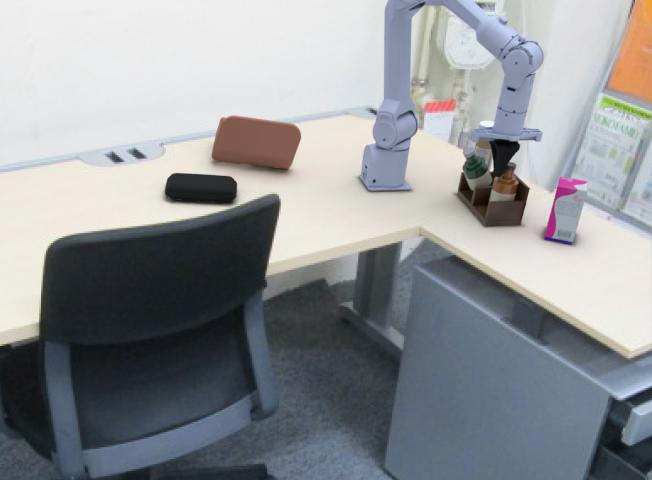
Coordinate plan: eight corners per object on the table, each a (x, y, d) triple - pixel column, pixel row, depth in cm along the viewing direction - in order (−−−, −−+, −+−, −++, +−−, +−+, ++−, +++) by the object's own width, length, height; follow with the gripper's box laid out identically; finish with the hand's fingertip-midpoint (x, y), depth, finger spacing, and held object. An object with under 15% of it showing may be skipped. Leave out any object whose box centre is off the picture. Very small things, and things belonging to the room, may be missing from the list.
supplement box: (574, 233, 183) (589, 180, 176) (572, 245, 178) (587, 191, 172) (546, 227, 184) (560, 175, 177) (543, 239, 180) (557, 185, 173)
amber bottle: (492, 217, 183) (503, 168, 177) (482, 207, 187) (493, 159, 181) (514, 217, 185) (527, 168, 178) (505, 206, 188) (516, 159, 182)
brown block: (281, 191, 199) (304, 129, 190) (207, 167, 196) (227, 103, 187) (283, 164, 212) (304, 104, 203) (213, 140, 209) (232, 79, 200)
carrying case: (237, 185, 191) (168, 181, 190) (237, 171, 189) (168, 167, 188) (236, 206, 182) (164, 202, 181) (236, 192, 180) (163, 188, 179)
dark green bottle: (477, 201, 190) (462, 161, 183) (468, 191, 194) (453, 152, 187) (499, 189, 189) (484, 148, 183) (489, 179, 193) (474, 139, 186)
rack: (485, 226, 183) (493, 188, 178) (456, 194, 195) (464, 158, 190) (520, 225, 184) (530, 188, 179) (490, 193, 197) (498, 157, 192)
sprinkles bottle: (491, 183, 202) (504, 124, 194) (479, 187, 199) (492, 128, 191) (475, 176, 204) (487, 118, 196) (463, 180, 202) (475, 122, 194)
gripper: (485, 115, 168) (471, 183, 176) (555, 115, 171) (538, 182, 179) (471, 103, 173) (458, 169, 181) (539, 103, 176) (523, 168, 184)
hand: (497, 175), depth 181 cm, fingers closed
